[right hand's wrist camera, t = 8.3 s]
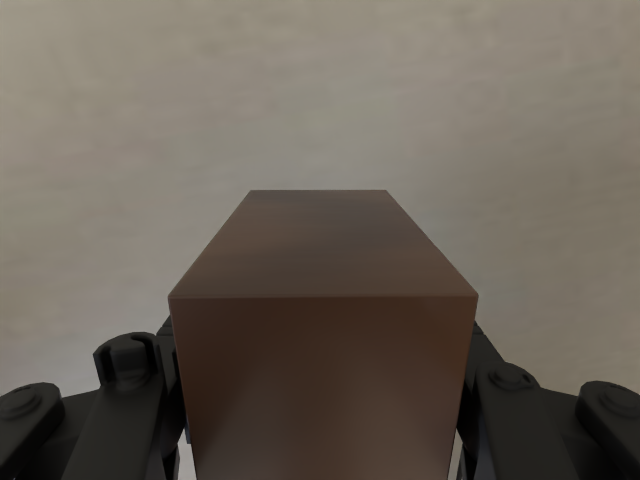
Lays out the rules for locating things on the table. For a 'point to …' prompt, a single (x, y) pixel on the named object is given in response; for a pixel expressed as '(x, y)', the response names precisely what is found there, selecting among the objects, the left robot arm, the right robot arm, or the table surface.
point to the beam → (322, 342)
